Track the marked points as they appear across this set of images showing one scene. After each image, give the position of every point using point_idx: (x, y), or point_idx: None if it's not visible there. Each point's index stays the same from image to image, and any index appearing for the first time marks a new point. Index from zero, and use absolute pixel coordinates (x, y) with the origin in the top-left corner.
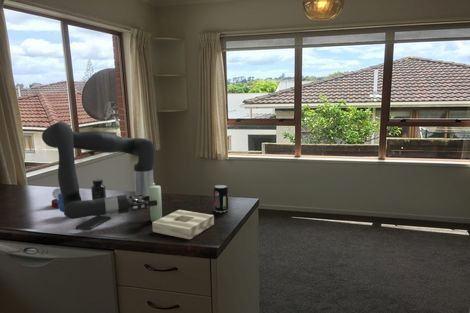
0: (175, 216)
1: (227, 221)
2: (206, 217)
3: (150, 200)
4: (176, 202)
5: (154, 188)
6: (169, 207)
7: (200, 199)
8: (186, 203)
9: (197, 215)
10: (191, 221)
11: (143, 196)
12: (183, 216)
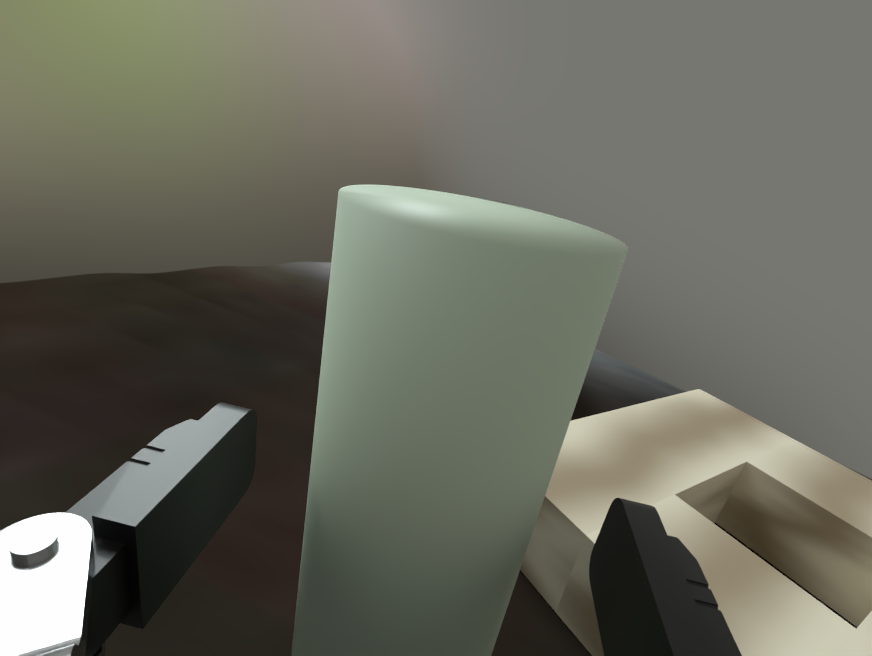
0: (712, 549)
1: (638, 391)
2: (748, 423)
3: (460, 563)
4: (74, 359)
5: (624, 252)
6: (116, 432)
7: (201, 297)
8: (180, 346)
9: (695, 433)
10: (870, 519)
11: (91, 563)
12: (680, 497)
